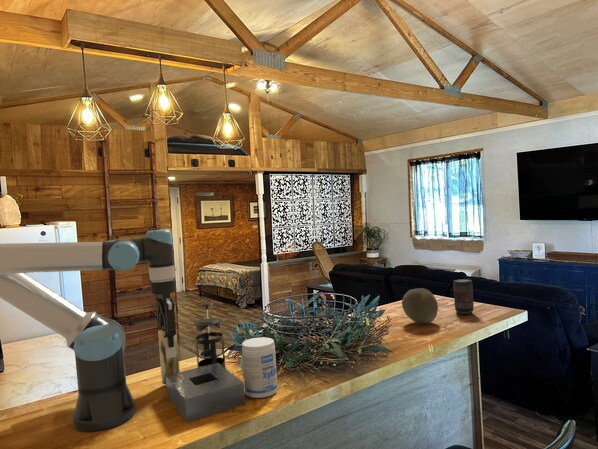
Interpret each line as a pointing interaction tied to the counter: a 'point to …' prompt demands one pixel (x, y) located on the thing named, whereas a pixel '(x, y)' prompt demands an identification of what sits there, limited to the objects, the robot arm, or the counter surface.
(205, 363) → the french press
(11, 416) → the counter surface
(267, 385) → the supplement tub
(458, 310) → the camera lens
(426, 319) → the cantaloupe
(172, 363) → the end plug
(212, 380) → the housing
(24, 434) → the counter surface
